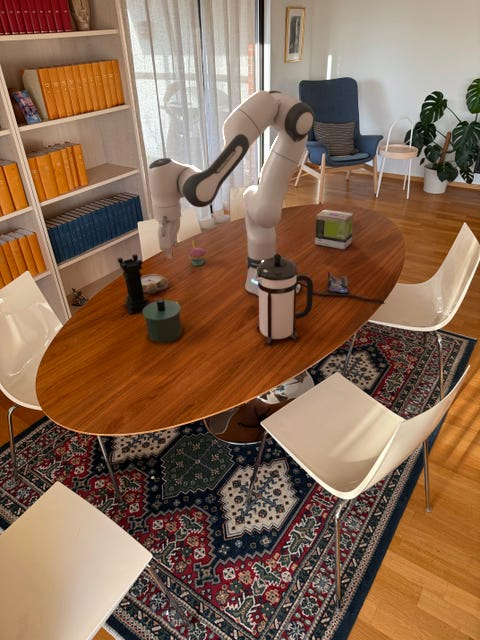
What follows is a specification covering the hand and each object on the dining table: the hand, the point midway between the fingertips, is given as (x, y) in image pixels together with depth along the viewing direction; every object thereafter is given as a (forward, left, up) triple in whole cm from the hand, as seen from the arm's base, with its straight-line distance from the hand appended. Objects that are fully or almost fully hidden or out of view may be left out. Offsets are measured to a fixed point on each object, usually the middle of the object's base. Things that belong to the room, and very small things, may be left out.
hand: (172, 251), depth 157 cm
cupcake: (-1, -47, -27) cm, 54 cm away
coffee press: (-36, +10, -27) cm, 46 cm away
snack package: (-60, -21, -27) cm, 69 cm away
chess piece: (+18, -9, -27) cm, 34 cm away
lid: (+4, +10, -17) cm, 20 cm away
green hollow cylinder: (+4, +10, -27) cm, 29 cm away
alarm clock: (+15, -24, -27) cm, 39 cm away
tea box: (-64, -66, -27) cm, 96 cm away
